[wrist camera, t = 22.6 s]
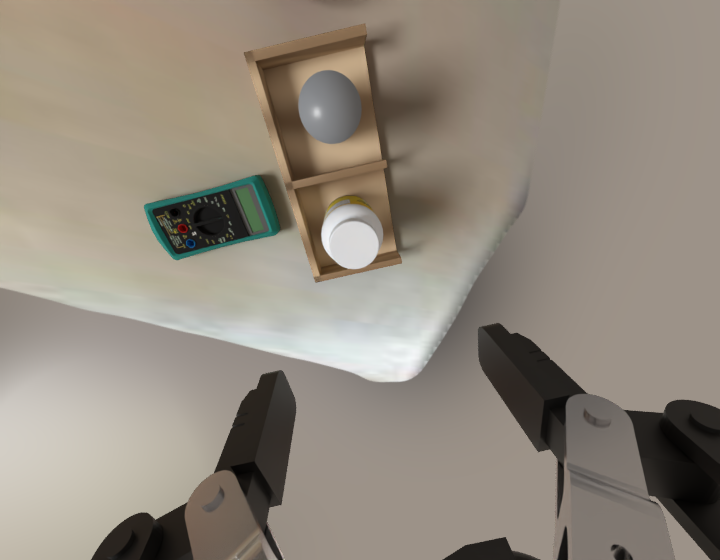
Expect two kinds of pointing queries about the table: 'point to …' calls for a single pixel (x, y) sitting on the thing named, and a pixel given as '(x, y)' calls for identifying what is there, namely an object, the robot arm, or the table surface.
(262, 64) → the divided wooden tray
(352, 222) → the pill bottle
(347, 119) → the grey cylinder
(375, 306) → the table surface
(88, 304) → the table surface
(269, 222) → the digital multimeter
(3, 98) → the table surface
